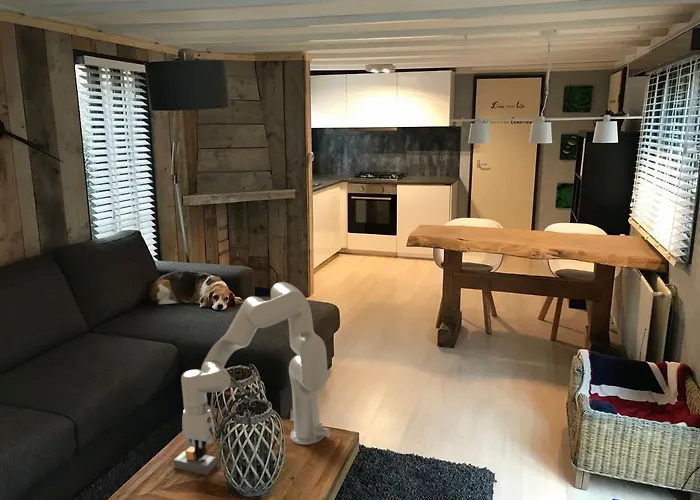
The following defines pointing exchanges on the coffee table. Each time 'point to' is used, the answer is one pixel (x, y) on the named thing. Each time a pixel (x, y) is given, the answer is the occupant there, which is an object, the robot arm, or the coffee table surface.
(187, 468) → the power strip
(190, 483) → the coffee table surface
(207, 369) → the robot arm
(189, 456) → the orange cube
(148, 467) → the coffee table surface
